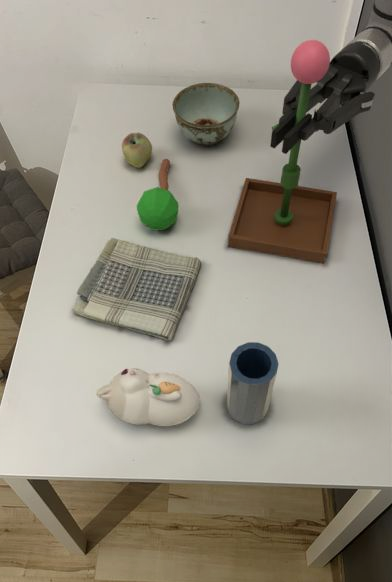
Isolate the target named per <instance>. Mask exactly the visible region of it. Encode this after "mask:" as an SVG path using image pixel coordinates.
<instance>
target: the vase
mask: <svg viewBox="0 0 392 582" xmlns="http://www.w3.org/2000/svg"><path fill="white" fill-rule="evenodd" d="M278 369H279V360H278V357H277V354H276V353H275V351H274V350H272V349H271V348H270V347H269V346H268V345H266V344H264V343H261V342H259V341H257V342H255V341H253V342H252V341H250V342H246V343H245V342H244V343H243V344H240V345H238V346H237V347H236V348H235V349H234V350H233V351H232V352H231V354H230V358H229V362H228V377H227V395H226V409H227V412H228V414H229V416H230V417H231V418H232V419H233V420H234V421H235V422H237V423H239V424H242V425H255V424H258V423H259V422H260V421H262V420H263V419H264V418H265V416H266V415H267V413H268V410H269V406H270V401H271V398H272V394H273V390H274V386H275V382H276V378H277V373H278Z"/></svg>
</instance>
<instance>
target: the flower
mask: <svg viewBox="0 0 392 582" xmlns="http://www.w3.org/2000/svg"><path fill="white" fill-rule="evenodd" d="M330 61H331V55H330V51H329V50H328V47H327V46H326V45H325V44H324V43H323V42H321V41H319V40H317V39H308V40H304V41H303V42H301V43H300V44H299V45H298V46H297V47H295V49H294V51H293V52H292V55H291V58H290V70H291V73H292V76H293V77H294V78H295V79H296V81H297V80H298V81H299V82H301V89H300V95H299V101H298V108H297V114H296V120H295V125H296V124H297V123H299V122H300V121H301V120H302V119H303V118H304V117H305V116H306V115H307V113H306V111H307V106H308V100H309V95H310V89H312V84H315V83H316V84H317V82H318V81H319V80H321V79H322V78H323V77H324V75H325V74H326V72H327V70H328V68H329V64H330ZM278 125H279V122H278V123H276V124H275V125H273V126H272V127H271V130H272V131H273V130H274V129H275V128H276V127H277V126H278ZM301 143H302V140H300V141H299V142H298V143H297V144H296V145H295V146H294V147H293V148H292V149H291V150H290V151H289V156H288V157H289V158H288V162H287V163H285V164H284V165H283V166H282V171H281V176H280V183H281V185H282V186H283V187H284V193H283V199H282V206H281V209H279V210H277V211H276V212H275V215H274V219H275V221H276V222H277V223H278V224H281V225H287V224H289V223H290V222H291V221H292V219H293V214H292V212H291V211H290V210H289V205H290V199H291V194H292V189H294V188H296V187H297V186H299V181H300V176H301V171H302V169H301V167H300V165H299V164H298V161H299V156H300V149H301Z"/></svg>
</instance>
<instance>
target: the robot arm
mask: <svg viewBox="0 0 392 582" xmlns="http://www.w3.org/2000/svg"><path fill="white" fill-rule="evenodd" d="M383 18H384V19H383ZM386 19H387V20H386ZM391 64H392V0H373V5H372V7H371V11H370V16H369V19H368V23H367V26H366V27H365V28H363V30H362V31H360V32H359V33H358V34H357V35H356V36H355V37H354V38H352V39H351V40H350V41H349V42H348V43H347V44H346V45H345V46H344V47H343V48H342V49H340V50H339V52H337V53H336V54H335V55H334V56H333V57H332V59H330V64H329V68H328V70H327V72H326V74H325V75H324V77H323V78H322V79H321V80H319V81H318V82H316V84H315V85H314V86H313V87H311V89H310V95H309V100H308V106H307V111H306V116H305V117H304V118H303V119H302V120H301V121H300V122H299V123H297V124H296V125H295V120H296V114H297V108H298V101H299V95H300V89H301V82H299V81H298V80H297V79H296V81H295V82H294V84H293V85H292V86H291V88H290V89H289V91H288V92H287V93H286V94H285V96H284V98H283V103H282V104H283V105H282V111H281V113H282V115H281V116H280V117H279V119H278V123H279V125H278V126H277V127H276V128H275V129H274V130H273V129H272V130H271V137H270V145H269V147H270V148H272V149H276V148H277V147H278V146H279V145H280V144H281V143H282V147H281V153H283V154H284V155H287V154H288V153H290V150H291V149H292V148H293V147H294V146H295V145H296V144H297V143H298V142H299V141H300V140H301V141H304V142H306V141H307V140H308V139H309V138H311V136H312V135H313V134H314V133H317V132H319V131H322V132H323V133H324V134H326V135H329V134H332V133H333V132H335V131H337V129H339V128H340V127H342V126H343V125H344V124H346V123H348V122H349V121H350V120H352V119H353V118H355V117H356V116H358V115H359V114H361V113H365V112H368V111H370V110H371V108H372V104H373V102H374V99H375V95H376V94H375V93H374V92H373V91H368V90H369V89H370V88H371V87H372V86H373V85H374V83H375V82H376V81H377V80H378V79H379V78H380V77H381V76H382V75H383V74H385V72H386V71H387V70H388V69H389V68H390V67H391V66H392V65H391ZM318 104H321V105H320V106H319V108H318V109H315V108H314V107H316V106H317V105H318ZM313 108H314V111H313V114H311V113H308V112H310V111H311V110H312V109H313Z"/></svg>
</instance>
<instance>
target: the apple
mask: <svg viewBox="0 0 392 582" xmlns="http://www.w3.org/2000/svg"><path fill="white" fill-rule="evenodd" d="M121 151H122V155H123V156H124V159H125V160H126V162H127V163H128V164H130V165H132V166H133V167H135V168H138V169H140V168H142V167H144V166H145V165H146V163H147V162H148V160H150V158H151V156H152V153H153V145H152V142H151V141H150V139H149V138H148V137H147V135H145V134H143V133H141V132H130V133H129V134H128V135H126V136H125V137H124V138H123V140H122V143H121Z"/></svg>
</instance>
